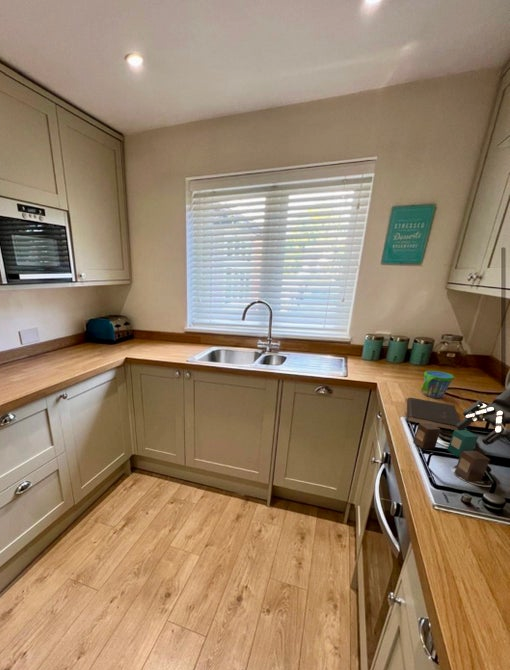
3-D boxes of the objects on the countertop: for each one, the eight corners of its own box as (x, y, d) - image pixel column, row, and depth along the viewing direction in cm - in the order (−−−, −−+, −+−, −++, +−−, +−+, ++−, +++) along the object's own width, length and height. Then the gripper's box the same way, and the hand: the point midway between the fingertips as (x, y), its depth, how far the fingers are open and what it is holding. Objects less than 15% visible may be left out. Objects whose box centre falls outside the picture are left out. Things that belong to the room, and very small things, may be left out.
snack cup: (430, 401, 140) (437, 379, 136) (409, 393, 149) (414, 371, 145) (456, 398, 145) (464, 376, 141) (434, 390, 154) (440, 369, 150)
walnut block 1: (424, 446, 103) (431, 423, 100) (433, 452, 100) (440, 429, 97) (411, 446, 103) (418, 423, 100) (420, 453, 99) (427, 429, 96)
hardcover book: (452, 410, 131) (454, 405, 131) (460, 432, 113) (462, 426, 112) (406, 402, 139) (408, 397, 138) (406, 421, 120) (407, 415, 120)
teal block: (457, 453, 100) (466, 429, 97) (469, 460, 96) (478, 436, 93) (445, 454, 99) (453, 430, 96) (456, 461, 95) (465, 436, 92)
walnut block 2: (466, 476, 88) (476, 450, 85) (479, 485, 84) (490, 459, 82) (452, 477, 88) (461, 451, 85) (464, 486, 84) (474, 459, 81)
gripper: (553, 417, 87) (498, 456, 90) (501, 397, 100) (455, 432, 103) (543, 398, 84) (488, 439, 87) (492, 381, 98) (445, 417, 100)
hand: (470, 435), depth 95 cm, fingers open, 8 cm apart
